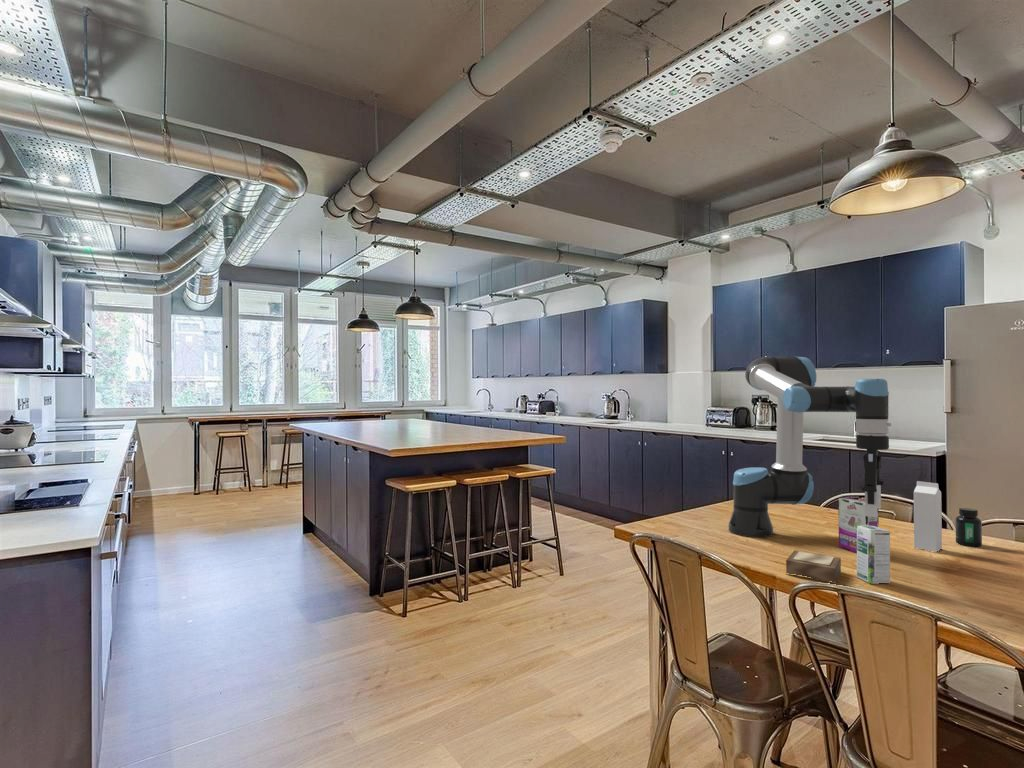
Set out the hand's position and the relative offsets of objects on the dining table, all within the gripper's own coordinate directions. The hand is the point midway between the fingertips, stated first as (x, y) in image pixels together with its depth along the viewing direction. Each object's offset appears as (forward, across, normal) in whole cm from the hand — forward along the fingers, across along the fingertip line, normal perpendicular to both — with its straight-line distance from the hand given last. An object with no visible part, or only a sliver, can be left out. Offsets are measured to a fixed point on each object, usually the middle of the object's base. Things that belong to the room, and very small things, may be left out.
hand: (873, 512), depth 149 cm
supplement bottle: (+19, +62, -23) cm, 69 cm away
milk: (+19, +47, -12) cm, 52 cm away
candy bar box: (+19, +30, +6) cm, 36 cm away
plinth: (+19, -3, +14) cm, 24 cm away
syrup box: (+19, 0, 0) cm, 19 cm away
